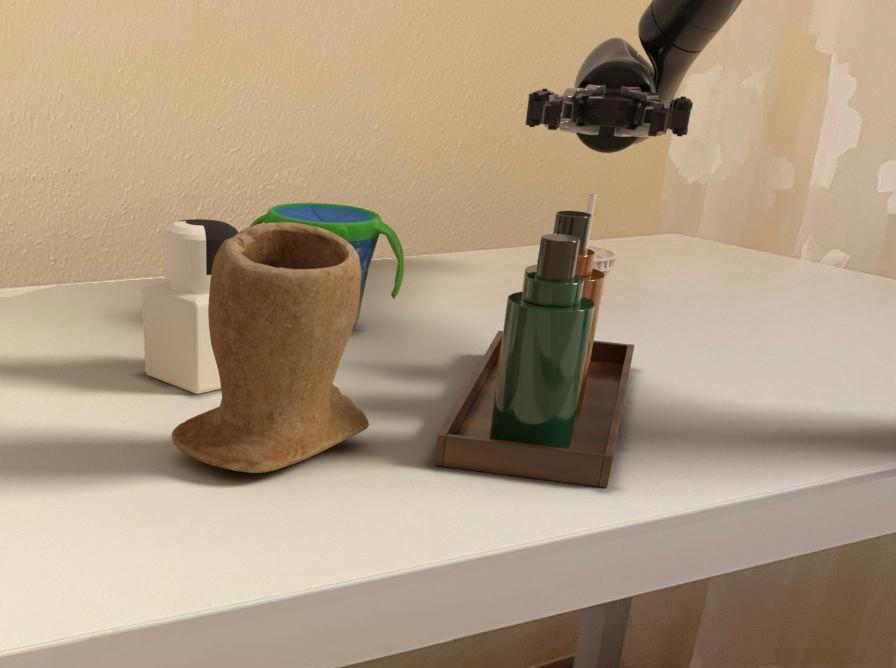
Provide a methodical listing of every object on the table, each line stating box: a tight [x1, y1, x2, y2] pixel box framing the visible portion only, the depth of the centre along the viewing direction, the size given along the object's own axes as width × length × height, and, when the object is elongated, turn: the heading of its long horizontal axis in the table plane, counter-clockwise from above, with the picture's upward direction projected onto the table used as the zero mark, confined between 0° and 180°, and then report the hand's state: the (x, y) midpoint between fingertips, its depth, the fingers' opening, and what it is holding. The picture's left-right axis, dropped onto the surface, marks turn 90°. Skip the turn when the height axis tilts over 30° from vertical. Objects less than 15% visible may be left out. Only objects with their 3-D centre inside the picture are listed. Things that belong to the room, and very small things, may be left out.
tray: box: [434, 330, 635, 489], centre depth 96 cm, size 31×12×2 cm, turn 164°
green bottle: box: [489, 233, 595, 449], centre depth 84 cm, size 6×6×14 cm
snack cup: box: [248, 202, 405, 329], centre depth 113 cm, size 16×10×10 cm
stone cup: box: [171, 222, 370, 474], centre depth 82 cm, size 15×12×15 cm
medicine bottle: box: [141, 218, 240, 395], centre depth 97 cm, size 7×7×12 cm
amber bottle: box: [521, 210, 605, 413], centre depth 92 cm, size 6×6×14 cm
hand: (603, 119), depth 102 cm, fingers open, 8 cm apart
